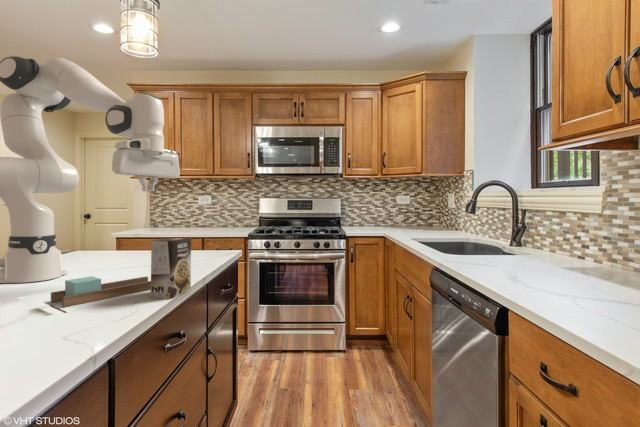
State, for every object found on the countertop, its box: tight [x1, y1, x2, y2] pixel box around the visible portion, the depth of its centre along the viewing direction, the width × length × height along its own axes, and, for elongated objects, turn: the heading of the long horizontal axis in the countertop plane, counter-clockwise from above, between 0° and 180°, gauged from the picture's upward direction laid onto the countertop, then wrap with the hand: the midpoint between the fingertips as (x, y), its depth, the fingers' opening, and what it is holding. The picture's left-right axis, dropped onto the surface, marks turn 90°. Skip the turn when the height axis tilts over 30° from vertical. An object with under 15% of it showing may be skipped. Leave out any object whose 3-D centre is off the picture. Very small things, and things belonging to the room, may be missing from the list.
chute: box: [50, 276, 151, 314], centre depth 93 cm, size 8×24×4 cm, turn 146°
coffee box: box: [150, 237, 192, 300], centre depth 95 cm, size 9×6×16 cm
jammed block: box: [64, 276, 102, 296], centre depth 88 cm, size 5×6×5 cm
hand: (148, 191), depth 110 cm, fingers closed
